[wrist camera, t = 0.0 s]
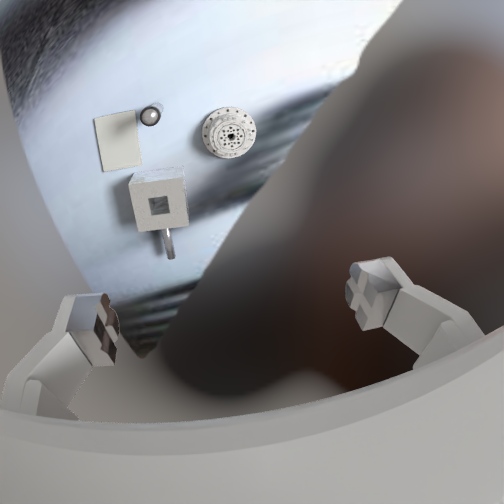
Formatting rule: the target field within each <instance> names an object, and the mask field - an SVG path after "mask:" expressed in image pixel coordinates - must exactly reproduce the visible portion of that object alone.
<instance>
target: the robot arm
mask: <svg viewBox="0 0 504 504" xmlns="http://www.w3.org/2000/svg"><path fill="white" fill-rule="evenodd" d="M350 274H351V276H352V277H351V278H350V279H349V280H348V281H347V283H346V288H345V295H346V300H347V303H348V304H349V306H350V308H352V309H354V310H355V311H356V316H355V317H356V319H357V321H358V323H359V325H360V326H361V328H362V330H363V331H364V330H368V329H373V328H377V327H382V326H383V328H385V329H386V330H387V331H389V332H390V333H391V334H393V335H394V336H395V337H397V338H398V339H399V340H400V341H402V342H403V343H404V344H406V345H407V346H408V347H410V348H411V349H412V350H413V351H415V352H416V353H417V354H419V355H420V357H419V358H418V360H417V361H416V362H415V364H414V366H413V369H414V370H412V371H409V372H406V373H404V374H401V375H399V376H396V377H393V378H390V379H388V380H385V381H382V382H379V383H376V384H373V385H370V386H367V387H364V388H361V389H357V390H354V391H351V392H347V393H344V394H340V395H337V396H333V397H330V398H326V399H322V400H318V401H314V402H310V403H305V404H301V405H297V406H292V407H288V408H282V409H277V410H272V411H267V412H261V413H255V414H249V415H242V416H235V417H227V418H219V419H210V420H200V421H188V422H187V421H186V422H170V423H102V422H87V421H79V418H78V417H77V416H76V415H75V414H74V413H73V412H72V411H71V410H70V409H69V408H67V406H68V405H69V403H70V402H71V400H72V399H73V397H74V396H75V394H76V392H77V391H78V389H79V388H80V386H81V385H82V383H83V382H84V380H85V379H86V377H87V376H88V374H89V373H90V371H91V370H92V368H93V367H92V366H112V365H115V361H116V353H117V348H116V346H115V344H114V342H115V341H116V340H117V339H118V337H119V321H118V317H117V315H116V312H115V311H114V310H113V309H112V308H110V307H109V306H110V299H109V297H108V295H107V294H106V293H92V294H78V295H66V296H65V297H64V298H63V300H62V303H61V306H60V309H59V312H58V314H57V318H56V320H55V323H54V326H53V329H52V332H48V333H47V334H46V335H45V336H44V337H43V338H42V339H41V340H40V341H39V342H38V343H37V344H36V345H35V347H33V348H32V349H31V351H29V353H28V354H27V355H26V356H25V357H24V358H23V359H22V360H21V361H20V362H19V363H18V364H17V365H16V366H15V368H14V369H13V370H12V371H11V372H10V373H9V374H8V375H7V378H6V382H5V385H4V389H3V393H2V397H1V401H0V504H504V326H502V327H500V328H498V329H497V330H495V331H493V332H491V333H490V334H488V335H486V336H485V335H484V334H483V332H482V331H481V329H480V328H479V327H478V325H477V324H476V323H475V321H474V320H473V318H472V317H471V316H470V315H469V313H468V312H467V311H465V310H463V309H461V308H460V307H458V306H456V305H454V304H452V303H451V302H449V301H447V300H445V299H443V298H441V297H440V296H437V295H436V294H434V293H432V292H430V291H428V290H426V289H424V288H423V287H421V286H418V285H415V286H414V285H413V283H412V282H411V280H410V279H409V278H408V277H407V275H406V274H405V273H404V272H403V270H402V269H401V268H400V267H399V265H398V264H397V263H396V262H395V261H394V259H393V258H391V257H385V258H380V259H375V260H369V261H362V262H356V263H353V264H352V266H351V268H350Z"/></svg>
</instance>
